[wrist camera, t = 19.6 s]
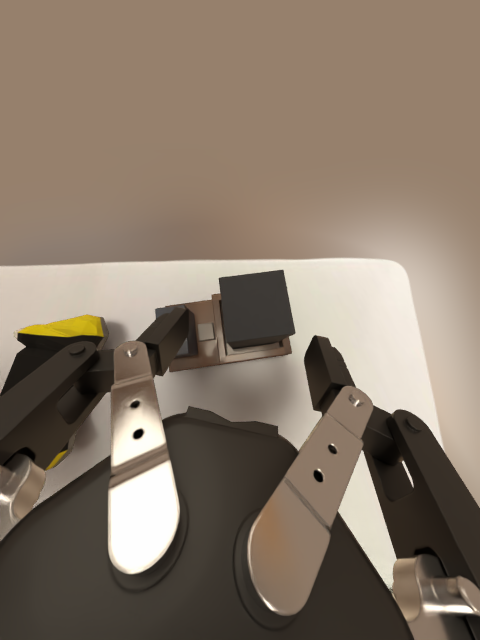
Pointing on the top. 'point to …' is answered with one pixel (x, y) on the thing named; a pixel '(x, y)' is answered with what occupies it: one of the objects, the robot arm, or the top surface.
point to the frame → (214, 339)
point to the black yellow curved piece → (53, 352)
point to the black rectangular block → (256, 309)
